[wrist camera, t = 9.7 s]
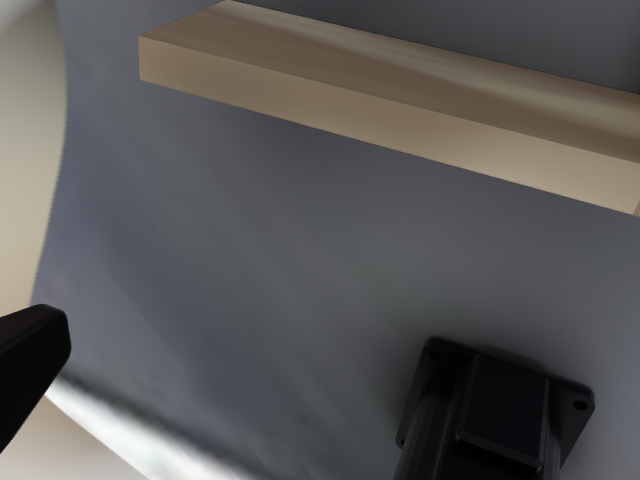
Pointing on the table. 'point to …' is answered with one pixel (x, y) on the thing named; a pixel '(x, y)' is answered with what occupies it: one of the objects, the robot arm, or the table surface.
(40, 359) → the robot arm
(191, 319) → the table surface
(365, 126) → the open wooden frame
